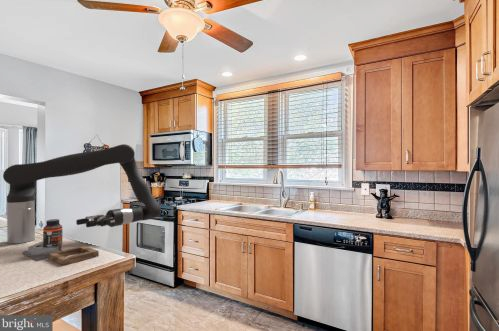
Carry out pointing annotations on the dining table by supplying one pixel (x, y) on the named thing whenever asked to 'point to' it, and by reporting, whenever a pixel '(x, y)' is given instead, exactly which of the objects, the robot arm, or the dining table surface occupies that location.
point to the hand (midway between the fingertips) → (81, 223)
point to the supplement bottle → (52, 233)
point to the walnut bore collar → (84, 255)
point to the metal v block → (40, 251)
